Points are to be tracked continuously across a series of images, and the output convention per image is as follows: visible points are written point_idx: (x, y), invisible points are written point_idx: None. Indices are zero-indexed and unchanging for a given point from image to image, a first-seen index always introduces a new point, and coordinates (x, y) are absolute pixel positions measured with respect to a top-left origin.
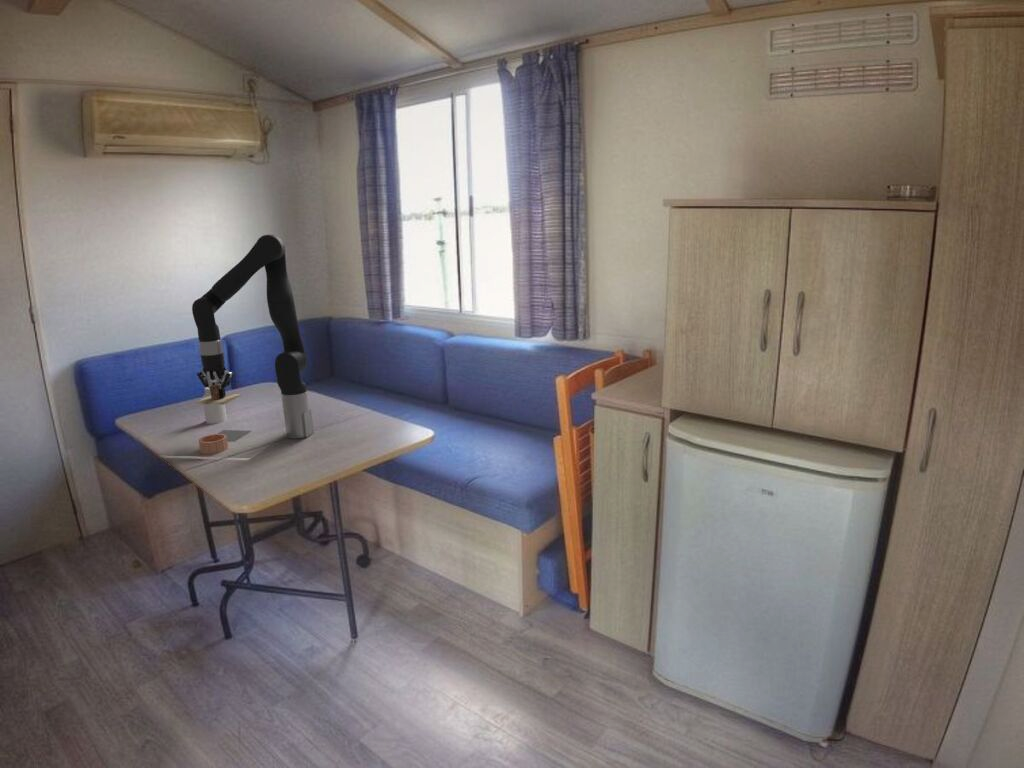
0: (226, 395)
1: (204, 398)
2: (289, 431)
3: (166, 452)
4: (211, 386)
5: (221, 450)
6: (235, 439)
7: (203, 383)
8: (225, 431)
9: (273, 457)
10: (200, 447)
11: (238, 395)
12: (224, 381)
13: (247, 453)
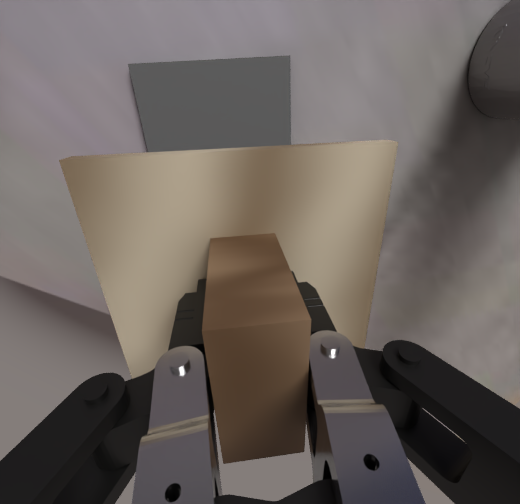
0: (261, 205)
1: (126, 327)
2: (515, 117)
3: (106, 312)
4: (241, 457)
5: None
6: None
7: (84, 493)
8: (157, 87)
9: (464, 280)
10: None
11: (387, 185)
12: (447, 485)
13: (377, 270)
